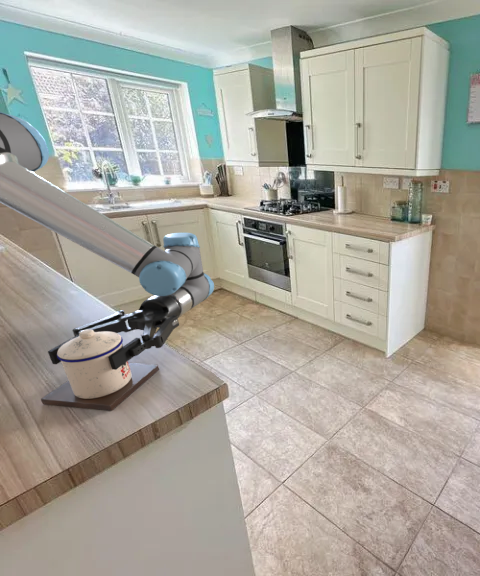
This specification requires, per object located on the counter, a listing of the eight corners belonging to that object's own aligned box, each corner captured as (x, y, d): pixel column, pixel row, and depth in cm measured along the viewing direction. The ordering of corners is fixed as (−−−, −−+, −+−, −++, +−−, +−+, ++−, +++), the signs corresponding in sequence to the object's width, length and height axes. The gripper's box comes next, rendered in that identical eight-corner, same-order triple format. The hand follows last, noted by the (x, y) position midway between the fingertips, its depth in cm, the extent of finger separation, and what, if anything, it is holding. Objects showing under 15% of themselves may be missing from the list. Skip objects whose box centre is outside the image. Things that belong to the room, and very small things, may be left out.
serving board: (42, 404, 59) (40, 399, 58) (100, 364, 70) (99, 359, 69) (111, 410, 58) (109, 405, 58) (159, 369, 69) (158, 365, 69)
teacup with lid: (139, 383, 63) (124, 331, 59) (77, 408, 57) (55, 351, 52) (122, 358, 70) (107, 309, 66) (65, 377, 64) (44, 325, 59)
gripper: (214, 324, 80) (148, 383, 59) (124, 317, 81) (28, 372, 60) (210, 296, 77) (138, 348, 57) (116, 289, 78) (13, 337, 58)
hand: (81, 360), depth 59 cm, fingers closed on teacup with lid, 11 cm apart
